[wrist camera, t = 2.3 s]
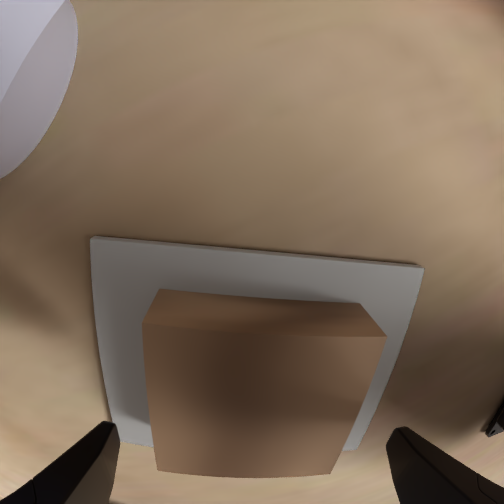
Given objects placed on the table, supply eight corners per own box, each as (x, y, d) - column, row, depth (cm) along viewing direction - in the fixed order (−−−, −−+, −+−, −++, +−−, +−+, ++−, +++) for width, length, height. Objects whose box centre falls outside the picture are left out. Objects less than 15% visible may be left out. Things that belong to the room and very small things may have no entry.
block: (359, 303, 11) (387, 336, 9) (318, 435, 13) (330, 473, 11) (159, 288, 10) (141, 322, 8) (165, 430, 12) (157, 470, 10)
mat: (419, 265, 11) (424, 268, 11) (354, 444, 14) (356, 449, 14) (94, 235, 10) (90, 238, 10) (119, 435, 13) (117, 440, 12)
